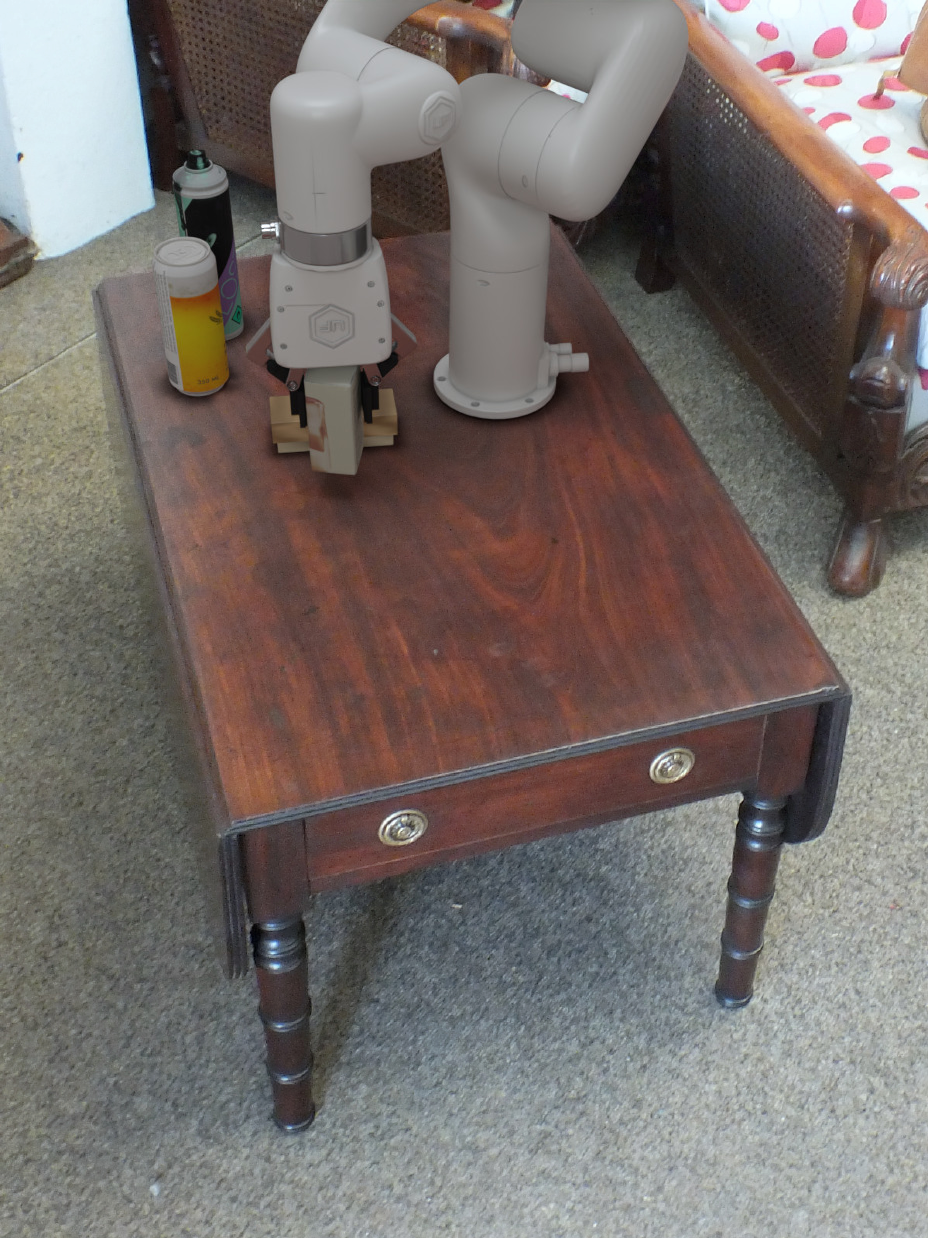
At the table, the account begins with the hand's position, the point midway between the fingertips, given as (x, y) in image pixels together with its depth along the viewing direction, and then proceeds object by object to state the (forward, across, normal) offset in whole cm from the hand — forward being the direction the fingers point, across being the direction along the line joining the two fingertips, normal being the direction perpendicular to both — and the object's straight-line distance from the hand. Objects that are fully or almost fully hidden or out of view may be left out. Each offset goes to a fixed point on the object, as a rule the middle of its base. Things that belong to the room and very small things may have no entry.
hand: (335, 415), depth 125 cm
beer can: (+8, -13, +19) cm, 24 cm away
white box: (+5, 0, 0) cm, 5 cm away
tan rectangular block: (+8, 0, +8) cm, 11 cm away
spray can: (+8, -11, +29) cm, 32 cm away
